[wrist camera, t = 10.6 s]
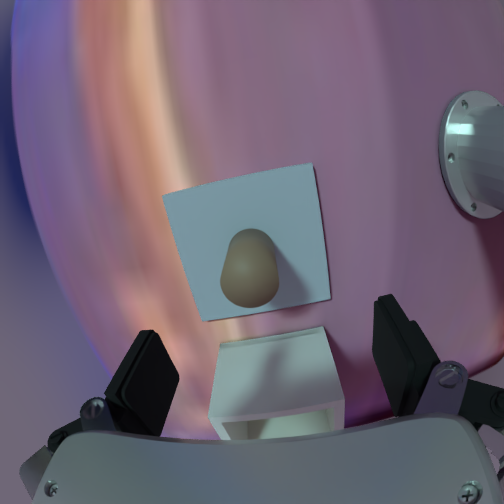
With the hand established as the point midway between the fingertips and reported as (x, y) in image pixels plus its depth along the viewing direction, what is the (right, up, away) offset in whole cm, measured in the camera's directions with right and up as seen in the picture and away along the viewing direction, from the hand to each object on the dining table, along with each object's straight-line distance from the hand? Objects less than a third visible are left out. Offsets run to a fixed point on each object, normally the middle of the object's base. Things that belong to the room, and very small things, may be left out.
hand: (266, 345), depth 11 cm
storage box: (+2, -9, +16) cm, 19 cm away
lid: (-1, +4, +12) cm, 13 cm away
